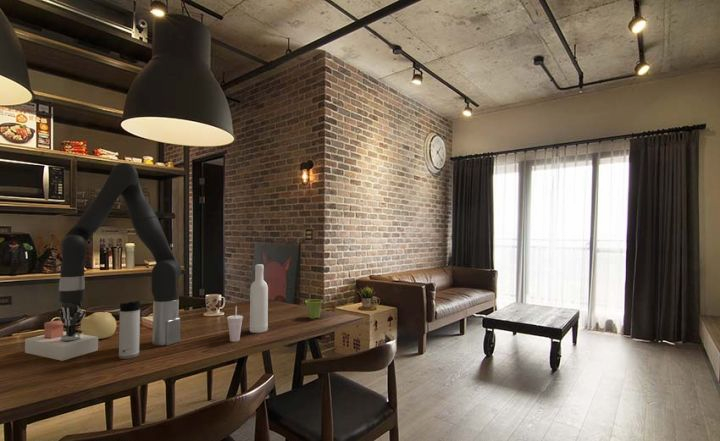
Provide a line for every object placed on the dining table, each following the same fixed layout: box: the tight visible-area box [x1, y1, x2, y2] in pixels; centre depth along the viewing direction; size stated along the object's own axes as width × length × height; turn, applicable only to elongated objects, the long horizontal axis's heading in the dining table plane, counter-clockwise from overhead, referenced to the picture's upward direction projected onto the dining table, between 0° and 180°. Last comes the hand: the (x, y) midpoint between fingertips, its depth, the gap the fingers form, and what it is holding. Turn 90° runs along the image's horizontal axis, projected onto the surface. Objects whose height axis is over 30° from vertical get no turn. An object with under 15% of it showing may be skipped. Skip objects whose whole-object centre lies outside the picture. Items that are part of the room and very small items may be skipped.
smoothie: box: [226, 305, 244, 342], centre depth 153 cm, size 6×6×14 cm
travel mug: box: [118, 300, 141, 360], centre depth 134 cm, size 6×7×20 cm
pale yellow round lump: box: [80, 311, 117, 340], centre depth 156 cm, size 12×12×11 cm
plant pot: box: [304, 298, 324, 320], centre depth 194 cm, size 9×9×9 cm
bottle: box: [249, 263, 269, 334], centre depth 168 cm, size 8×8×30 cm
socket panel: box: [24, 330, 99, 362], centre depth 138 cm, size 22×12×5 cm, turn 69°
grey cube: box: [61, 332, 81, 342], centre depth 136 cm, size 6×6×6 cm
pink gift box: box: [44, 319, 65, 339], centre depth 140 cm, size 6×6×6 cm
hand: (70, 335), depth 137 cm, fingers closed
